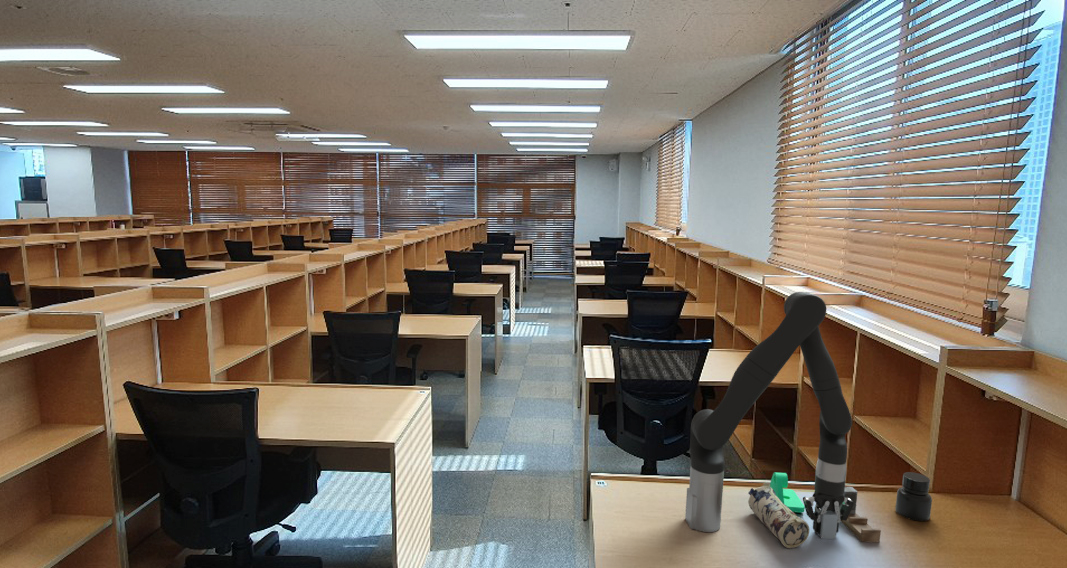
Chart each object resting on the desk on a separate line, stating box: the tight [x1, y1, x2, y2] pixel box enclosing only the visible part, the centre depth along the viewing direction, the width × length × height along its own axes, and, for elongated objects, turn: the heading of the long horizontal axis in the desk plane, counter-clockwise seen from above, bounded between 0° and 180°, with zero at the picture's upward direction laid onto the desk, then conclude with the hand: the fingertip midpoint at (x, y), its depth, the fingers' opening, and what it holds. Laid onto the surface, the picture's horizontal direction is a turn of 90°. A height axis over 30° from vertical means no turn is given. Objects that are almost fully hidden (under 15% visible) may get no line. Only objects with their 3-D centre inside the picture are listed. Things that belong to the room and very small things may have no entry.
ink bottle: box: [895, 471, 933, 522], centre depth 181 cm, size 10×9×12 cm
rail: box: [839, 486, 882, 543], centre depth 173 cm, size 5×15×9 cm, turn 1°
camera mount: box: [769, 471, 805, 513], centre depth 185 cm, size 12×8×10 cm, turn 173°
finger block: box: [817, 511, 838, 540], centre depth 169 cm, size 4×4×7 cm
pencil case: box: [747, 482, 810, 549], centre depth 170 cm, size 22×8×10 cm, turn 5°
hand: (825, 532), depth 169 cm, fingers closed on finger block, 4 cm apart
